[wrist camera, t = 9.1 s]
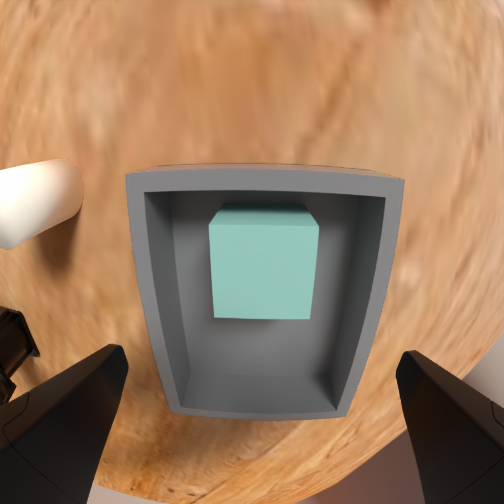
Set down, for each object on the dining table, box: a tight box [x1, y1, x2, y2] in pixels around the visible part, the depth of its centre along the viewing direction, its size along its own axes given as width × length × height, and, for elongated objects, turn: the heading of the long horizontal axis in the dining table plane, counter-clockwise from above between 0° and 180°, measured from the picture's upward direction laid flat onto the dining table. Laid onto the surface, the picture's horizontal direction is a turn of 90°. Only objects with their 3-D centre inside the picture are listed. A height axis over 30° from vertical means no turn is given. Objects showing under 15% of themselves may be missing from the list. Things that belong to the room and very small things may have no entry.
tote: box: [125, 163, 405, 421], centre depth 18 cm, size 18×14×5 cm
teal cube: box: [209, 203, 319, 319], centre depth 16 cm, size 5×5×5 cm
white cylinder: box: [0, 158, 84, 250], centre depth 15 cm, size 5×5×7 cm
